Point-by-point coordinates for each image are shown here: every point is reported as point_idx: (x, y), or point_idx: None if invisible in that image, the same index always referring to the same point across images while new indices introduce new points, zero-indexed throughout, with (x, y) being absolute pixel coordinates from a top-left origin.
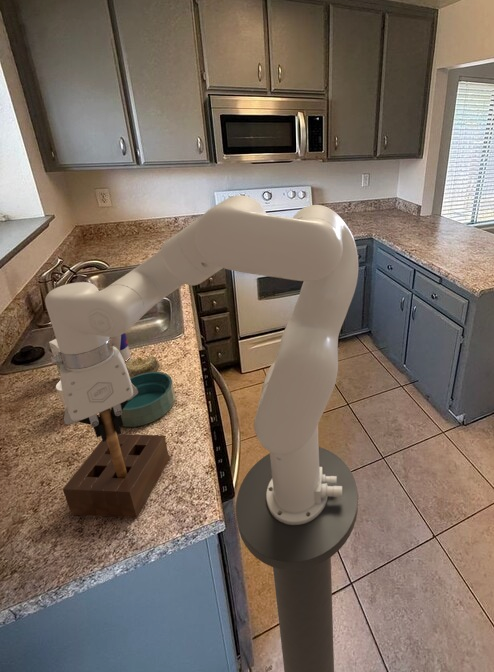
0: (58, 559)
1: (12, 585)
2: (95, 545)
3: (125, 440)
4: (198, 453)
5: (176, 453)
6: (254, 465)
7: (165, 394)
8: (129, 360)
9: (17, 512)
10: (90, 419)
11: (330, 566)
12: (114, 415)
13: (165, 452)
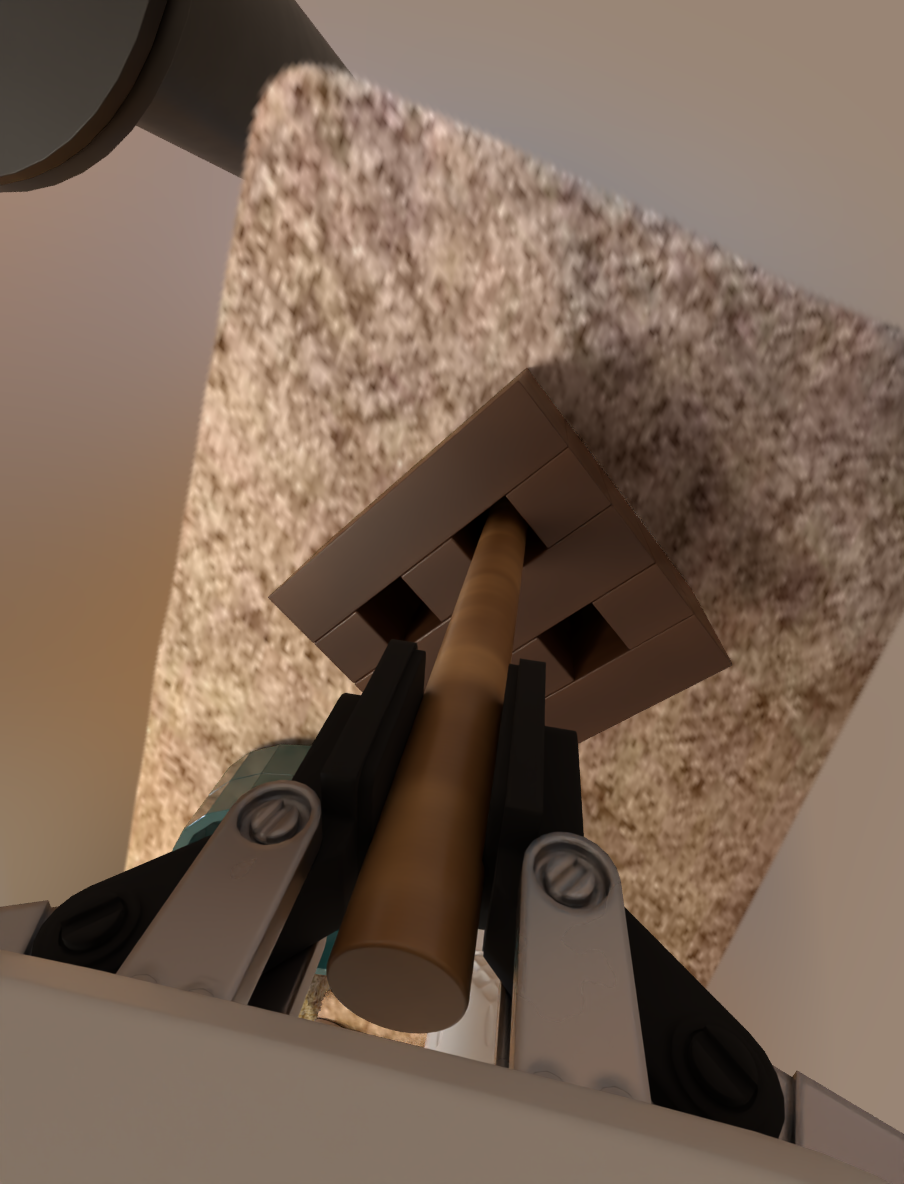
0: (811, 434)
1: None
2: (693, 378)
3: None
4: (224, 473)
5: (297, 545)
6: (12, 170)
7: (213, 812)
8: None
9: (804, 740)
10: (621, 991)
11: None
12: (338, 821)
13: (317, 551)
